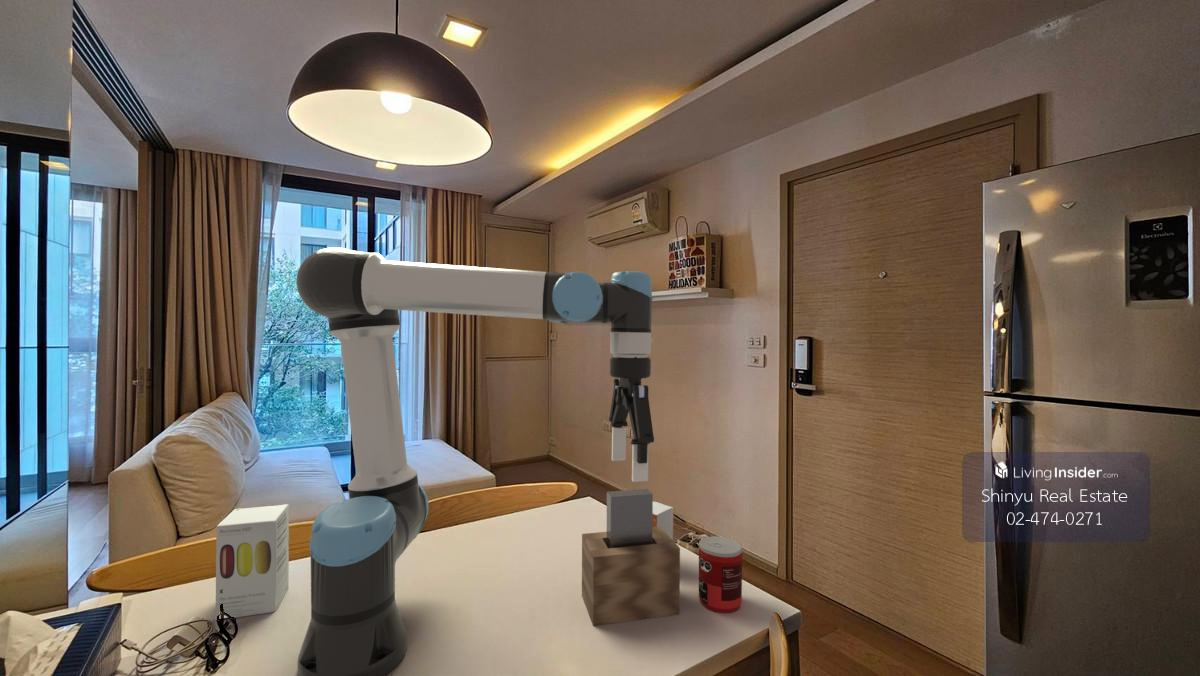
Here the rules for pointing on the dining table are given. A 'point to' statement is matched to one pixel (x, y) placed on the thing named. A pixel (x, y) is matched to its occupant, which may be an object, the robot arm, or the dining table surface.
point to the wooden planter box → (630, 578)
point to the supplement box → (252, 560)
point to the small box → (663, 518)
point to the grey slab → (629, 518)
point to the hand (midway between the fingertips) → (628, 470)
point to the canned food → (720, 574)
